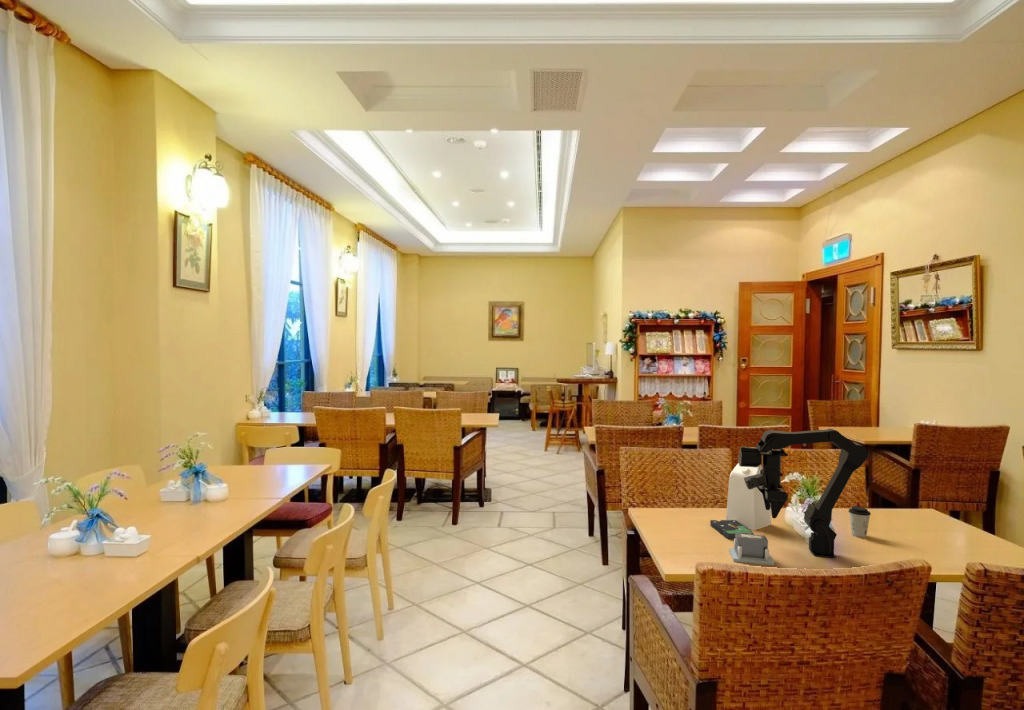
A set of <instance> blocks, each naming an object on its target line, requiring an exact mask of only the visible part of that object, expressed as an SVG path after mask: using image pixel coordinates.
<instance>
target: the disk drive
mask: <svg viewBox="0 0 1024 710" xmlns="http://www.w3.org/2000/svg"><path fill="white" fill-rule="evenodd" d="M709 523H710V524H709V525H710V527H711V528H713V529H714V530H715V531H716V532H718V533H719V534H720V535H721V536H723V537H724V538H725V539H726V540H734V539H735V533H741V534H753V535H755V533H754V530H752V529H749V528H747V527H745V526H744V525H742V524H741V523H739V522H738V521H736V520H726V519H721V520H717V519H710V521H709Z"/></svg>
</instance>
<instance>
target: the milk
mask: <svg viewBox="0 0 1024 710" xmlns="http://www.w3.org/2000/svg"><path fill="white" fill-rule="evenodd" d="M761 469H762V465H760V466H758V467H742V466H739V462H738V463H737V464H736V465H735V466H734V468H733V469H732V470H731V472H730V474H729V479H728V486H727V487H728V489H727V491H728V492H727V500H726V513H725V514H726V516H725V520H736V521H738V522H739V523H741V524H742V525H744V526H745V527H747V528H748V529H749V530H751V531H756V530H759V529H762V528H767V527H769V526H771V525H772V514H771V507H770V510H766V508H765V504H764V499H763V495H762V493H761V492H760V491H759V490H758V488H757V487H756V488H753V489H748V488H747V486H746V484H745V481H744V478H745V477H748V476H752V475H756V474H760V470H761ZM759 487H760V486H759ZM768 525H769V526H768Z"/></svg>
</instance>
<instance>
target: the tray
mask: <svg viewBox="0 0 1024 710" xmlns="http://www.w3.org/2000/svg"><path fill="white" fill-rule="evenodd" d="M728 552H729V554H730V556H731V559H732V561H733V562H736V563H744V564H745V563H746V564H756V565H767V566H775V561H774V560H773V558H772V556H771V555H770V549H769V548H768V549H765V559H762V558H751V557H742V547H740V546H738V556H737V554H736V552H735V539H733V548H732V547H731V548H730V547H728Z"/></svg>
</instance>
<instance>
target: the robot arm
mask: <svg viewBox="0 0 1024 710" xmlns="http://www.w3.org/2000/svg"><path fill="white" fill-rule="evenodd" d="M819 443H820V444H821V443H831V444H833V446H836V447H837V448H838V449H839V450H840V452H839V456H838V464H837V467H836V468H835V470H834V472H833V474H832V476H831V477H830V479H829V481H828V483H827V485H826V487H825V488H824V490H823V492H822V494H821V496H820V498H819V499H818V501H816V502H815V503H814V504H812V503H808V505H807V507H806V509H805V510H804V511H803V514H804V516H803V520H804V523H805V524H806V525H807V526H808V528H809V529H810V531H812V532H810V536H809V537H808V550H809V551H810V552H811V553H812V555H813V556H815V557H824V558H825V557H827V558H834V559H835V558H836V557H837V556H836V555H835V540H836V538H837V533H836V532H835V531H834V530H833V529H832V528H831V527H830V524H831V522H832V516H833V515H832V514H833V509H834V507H835V505H836V503H837V502H838V500H839V498H840V497H841V495H842V493H843V492H844V489H845V488H846V486H847V484H848V482H849V480H850V478H851V476H852V475H853V473H854V472H855V471H857V470H858V469H859V468H861V466H863V465H864V463H865V462H866V461H867V460H868V458H869V452H868V449H867V448H866V447H865V446H863V445H862V444H859V443H857V442H854V441H851V440H850V439H849V438H847V437H846V436H844V435H843V434H841V432H839V430H837V429H834V428H826V429H816V430H805V431H804V430H802V431H801V430H800V431H783V430H775V429H774V430H773V429H769V430H768V429H767V430H765V431H764V432H763V433H762V435H761V439H760V440H759V441H758V443H756V445H755V446H754V447H751V446H744V445H741V446H740V448H739V452H738V454H737V456H738V457H737V460H738V461H737V462H738V463H739V466H742V467H758V466H761V467H762V469H761V470H760V474H756V475H752V476H748V477H745V478H744V481H745V484H746V486H747V488H748V489H753V488H756V487H757V488H758V490H759V491H760V492H761V493H762V495H763V499H764V504H765V508H766V510H770V507H771V519H776V518H777V517H778V515H779V513H780V512H781V510H782V509H783V506H784V505H785V504H786V502H787V501H789V494H788V493H787V492H786V491H785V490H784V489H783V484H781V483H782V478H781V477H783V472H782V457H788V456H789V454H788V453H787V452H786V451H785V450H784V449H785V448H788V447H790V446H794V445H804V444H805V445H806V444H819ZM759 486H760V487H759Z"/></svg>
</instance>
